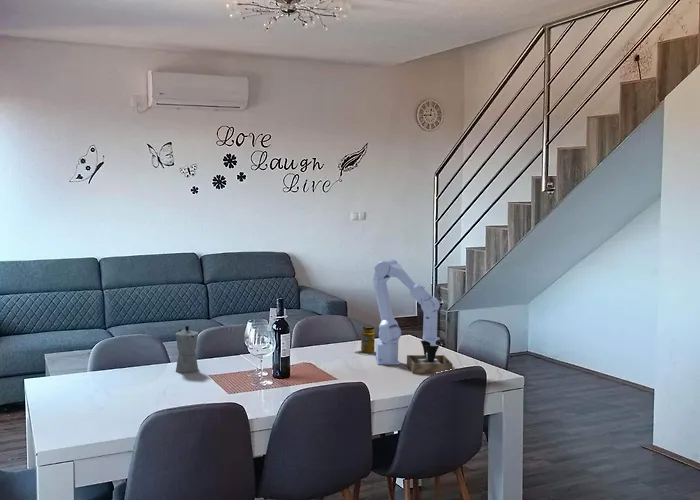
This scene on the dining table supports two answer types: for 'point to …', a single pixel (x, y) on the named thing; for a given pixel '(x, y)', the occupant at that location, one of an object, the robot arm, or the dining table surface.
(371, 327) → the condiment
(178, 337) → the coffeepot
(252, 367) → the dining table surface
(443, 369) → the walled box
